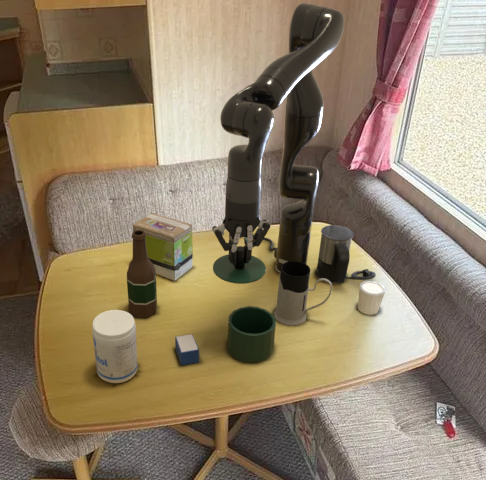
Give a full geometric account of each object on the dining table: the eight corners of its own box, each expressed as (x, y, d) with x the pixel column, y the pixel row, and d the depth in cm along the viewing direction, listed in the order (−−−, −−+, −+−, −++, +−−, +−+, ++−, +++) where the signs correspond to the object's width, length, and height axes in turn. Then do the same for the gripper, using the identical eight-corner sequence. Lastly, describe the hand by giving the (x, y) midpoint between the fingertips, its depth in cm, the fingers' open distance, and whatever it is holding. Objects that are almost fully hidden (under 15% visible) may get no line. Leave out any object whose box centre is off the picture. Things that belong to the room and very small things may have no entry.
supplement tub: (88, 371, 130) (81, 322, 122) (119, 351, 136) (114, 303, 128) (116, 391, 125) (111, 341, 117) (146, 369, 131) (143, 320, 123)
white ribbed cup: (381, 317, 149) (386, 296, 146) (355, 314, 150) (359, 293, 147) (380, 303, 155) (384, 282, 151) (355, 299, 156) (359, 279, 152)
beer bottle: (162, 306, 152) (160, 229, 139) (148, 321, 146) (144, 243, 133) (138, 298, 155) (133, 222, 142) (123, 314, 149) (116, 235, 136)
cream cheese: (175, 349, 137) (175, 336, 135) (192, 346, 138) (192, 333, 136) (181, 365, 132) (181, 352, 130) (199, 362, 133) (199, 349, 131)
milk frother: (309, 270, 169) (314, 227, 160) (352, 260, 174) (359, 218, 166) (335, 295, 158) (343, 250, 150) (380, 284, 163) (390, 240, 155)
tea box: (193, 267, 169) (193, 224, 161) (174, 282, 162) (173, 238, 154) (154, 252, 176) (152, 210, 168) (134, 266, 169) (131, 223, 160)
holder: (278, 302, 154) (283, 256, 146) (329, 314, 150) (337, 268, 142) (269, 320, 147) (274, 273, 139) (322, 333, 143) (330, 285, 135)
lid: (206, 261, 133) (206, 239, 130) (254, 254, 136) (256, 232, 133) (222, 289, 123) (222, 266, 120) (273, 281, 126) (275, 258, 123)
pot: (221, 336, 141) (222, 310, 137) (263, 329, 144) (265, 303, 140) (235, 366, 132) (237, 338, 128) (279, 358, 135) (283, 331, 130)
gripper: (266, 184, 124) (261, 250, 133) (207, 190, 120) (206, 258, 130) (279, 198, 118) (273, 266, 127) (217, 205, 114) (215, 275, 124)
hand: (239, 262), depth 128 cm, fingers closed on lid, 2 cm apart
